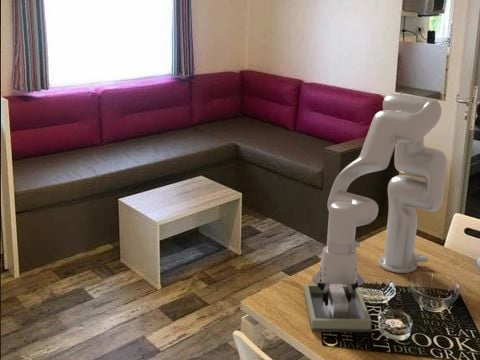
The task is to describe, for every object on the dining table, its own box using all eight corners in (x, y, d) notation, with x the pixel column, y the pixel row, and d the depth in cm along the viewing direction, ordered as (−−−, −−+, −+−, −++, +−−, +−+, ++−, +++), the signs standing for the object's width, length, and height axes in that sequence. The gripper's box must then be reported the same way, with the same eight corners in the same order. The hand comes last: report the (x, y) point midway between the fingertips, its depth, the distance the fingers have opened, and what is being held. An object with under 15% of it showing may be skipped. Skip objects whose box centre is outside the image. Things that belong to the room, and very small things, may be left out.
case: (356, 295, 175) (357, 284, 173) (370, 332, 156) (371, 321, 155) (304, 294, 175) (304, 284, 173) (311, 331, 156) (312, 320, 154)
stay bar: (338, 296, 171) (340, 279, 170) (346, 322, 158) (348, 303, 156) (325, 296, 171) (326, 278, 170) (332, 322, 158) (333, 303, 156)
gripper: (368, 240, 162) (363, 297, 168) (308, 239, 162) (305, 296, 168) (374, 252, 155) (368, 310, 161) (311, 251, 155) (307, 309, 161)
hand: (336, 302), depth 164 cm, fingers open, 5 cm apart
